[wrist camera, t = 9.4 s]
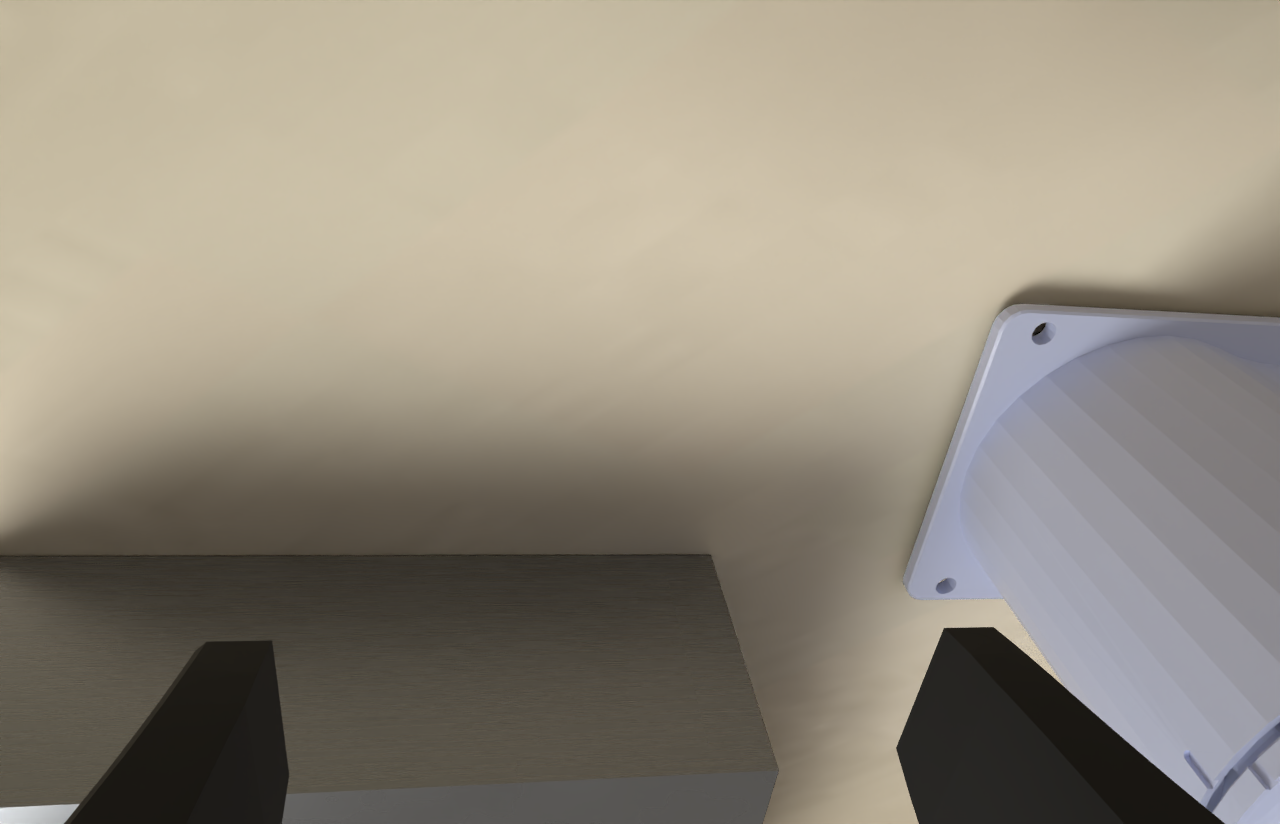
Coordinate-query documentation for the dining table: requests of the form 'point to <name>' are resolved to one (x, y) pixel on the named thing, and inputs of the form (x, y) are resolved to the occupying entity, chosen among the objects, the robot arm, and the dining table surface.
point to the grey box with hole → (402, 683)
